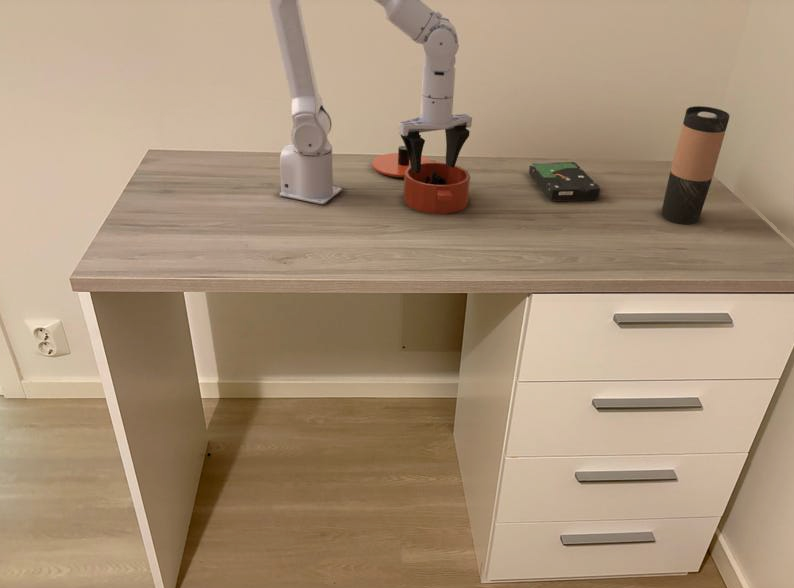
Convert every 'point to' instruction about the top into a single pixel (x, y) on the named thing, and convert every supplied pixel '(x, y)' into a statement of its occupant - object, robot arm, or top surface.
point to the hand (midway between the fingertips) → (433, 168)
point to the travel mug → (694, 163)
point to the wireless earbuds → (435, 179)
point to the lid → (394, 163)
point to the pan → (436, 188)
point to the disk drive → (564, 181)
